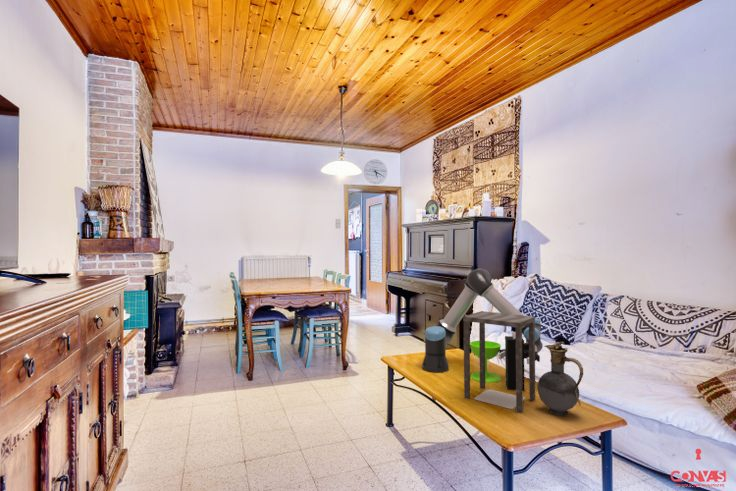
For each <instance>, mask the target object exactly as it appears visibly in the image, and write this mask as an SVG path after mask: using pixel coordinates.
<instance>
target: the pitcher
mask: <svg viewBox="0 0 736 491" xmlns="http://www.w3.org/2000/svg"><path fill="white" fill-rule="evenodd" d="M564 344H565V342H564V341H559V342H554V344H547V345H544V348H547V349H548V350H549V352H550V363H551V364H550V366H551V367H550V368H551V370H550V371H547V372H545V373H543V374H542V375H541V376H540V378H539V379H538V381H537V385H536V386H537V394H538V396H539V399H540V401H541V402H542V403H543V404H544V405H545V406H547V411H548V412H549V413H551V414H552V415H555V416H559V417H565V416H568V415H569V410H572V409H573V408H574V407H575V406H576V405H577V404H579V406H580V407H581V404H582V403H581V402H580V401H581V399H580V390H579V385H580V383H581V382H582V378H583V376H584V367H583V365H582V363H581V362H580V361H579V360H578V359H576V358H574V357H567V356H566V353H567V352H568V351H569V349H568V348H567V347H563V346H562V345H564ZM567 362H571V363H574V364H575V365H577V367H578V369H579V375H578V379H577V382H576V379H574V378H573V377H572V376H571V375H569V374H567V373H566V372H565V364H566V363H567Z"/></svg>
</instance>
